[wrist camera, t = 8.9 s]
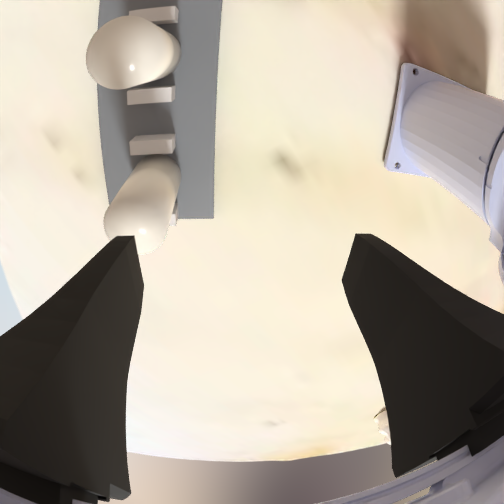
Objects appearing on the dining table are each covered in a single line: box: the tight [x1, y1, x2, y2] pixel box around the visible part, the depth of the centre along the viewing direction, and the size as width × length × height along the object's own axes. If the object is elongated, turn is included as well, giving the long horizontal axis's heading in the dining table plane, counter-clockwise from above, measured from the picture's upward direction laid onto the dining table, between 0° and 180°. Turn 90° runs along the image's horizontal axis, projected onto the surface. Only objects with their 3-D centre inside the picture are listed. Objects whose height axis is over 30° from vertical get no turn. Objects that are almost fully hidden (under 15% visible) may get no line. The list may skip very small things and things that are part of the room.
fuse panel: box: [97, 0, 222, 226], centre depth 13 cm, size 7×21×2 cm, turn 176°
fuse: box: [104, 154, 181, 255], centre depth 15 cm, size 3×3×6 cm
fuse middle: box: [86, 15, 182, 90], centre depth 10 cm, size 3×3×6 cm
